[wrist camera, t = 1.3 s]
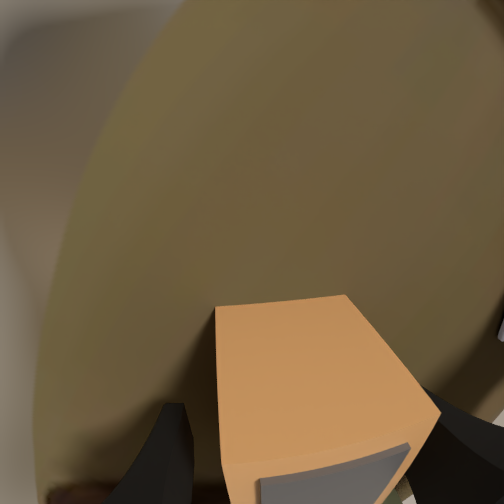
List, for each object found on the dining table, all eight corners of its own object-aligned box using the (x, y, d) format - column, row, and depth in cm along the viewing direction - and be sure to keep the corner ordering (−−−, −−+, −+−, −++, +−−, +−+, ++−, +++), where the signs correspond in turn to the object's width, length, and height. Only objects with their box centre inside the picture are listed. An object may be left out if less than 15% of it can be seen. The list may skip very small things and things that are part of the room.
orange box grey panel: (344, 293, 10) (446, 418, 4) (324, 421, 13) (366, 526, 7) (215, 305, 10) (222, 473, 4) (230, 434, 12) (243, 551, 6)
